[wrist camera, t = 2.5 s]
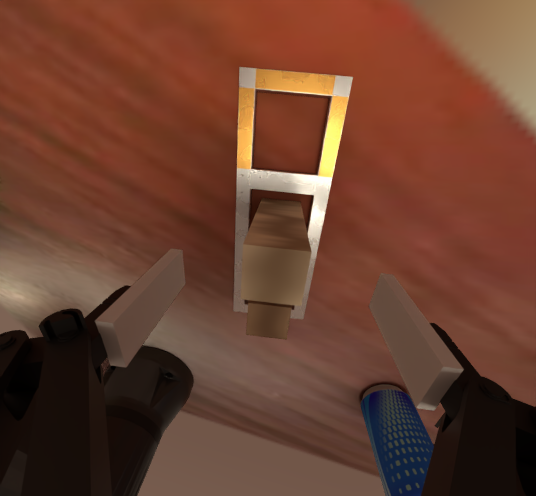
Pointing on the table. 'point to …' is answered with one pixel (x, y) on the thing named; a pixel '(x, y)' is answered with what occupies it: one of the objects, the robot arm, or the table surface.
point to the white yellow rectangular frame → (286, 180)
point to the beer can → (397, 440)
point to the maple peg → (276, 254)
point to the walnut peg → (268, 319)
